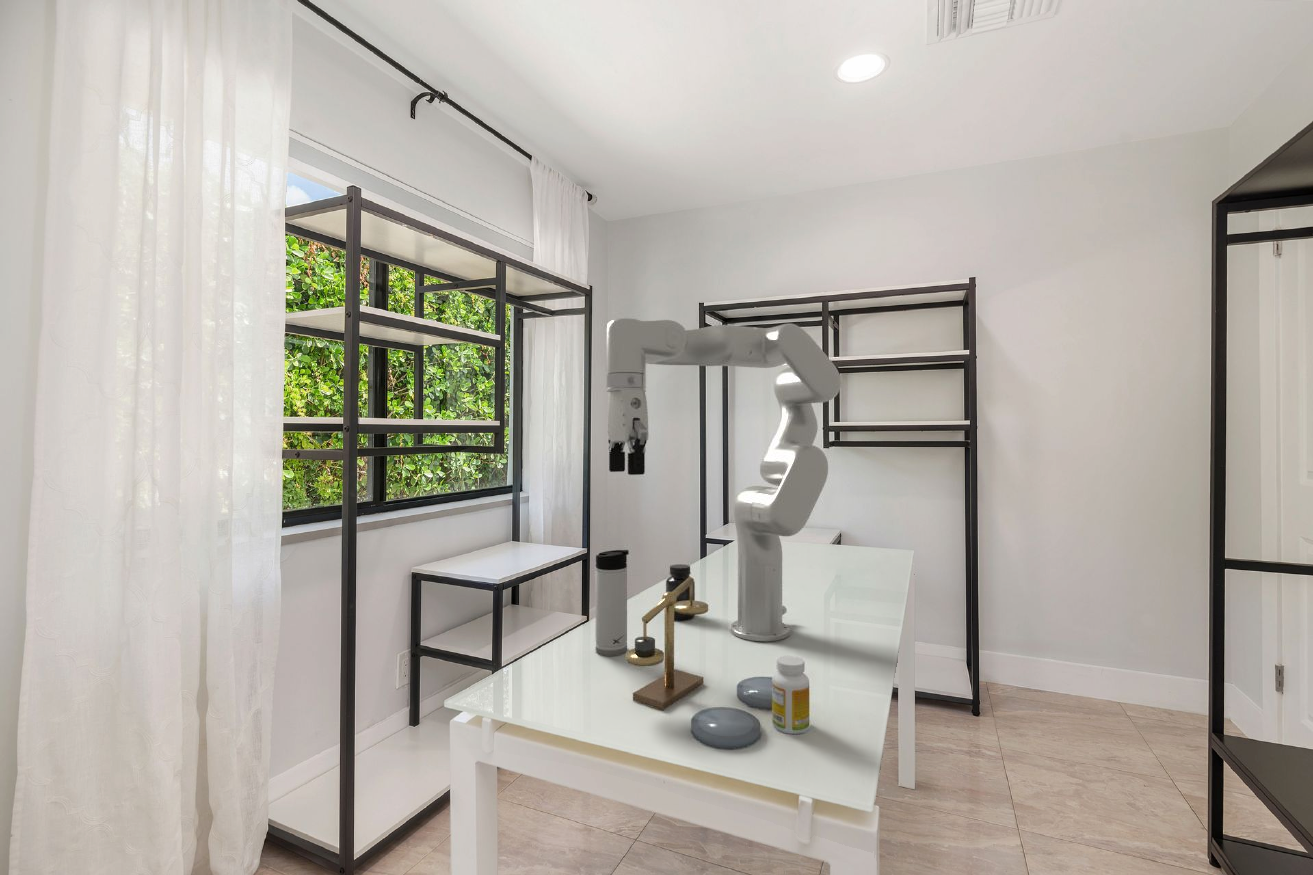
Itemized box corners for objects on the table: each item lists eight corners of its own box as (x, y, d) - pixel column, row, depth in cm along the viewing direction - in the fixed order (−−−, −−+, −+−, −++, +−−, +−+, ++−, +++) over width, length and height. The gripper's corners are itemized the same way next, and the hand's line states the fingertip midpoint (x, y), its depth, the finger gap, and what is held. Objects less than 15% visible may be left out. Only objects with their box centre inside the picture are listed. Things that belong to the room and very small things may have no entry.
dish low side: (713, 708, 93) (713, 700, 93) (772, 727, 87) (772, 718, 87) (677, 734, 85) (677, 726, 85) (740, 757, 79) (740, 747, 79)
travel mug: (624, 657, 114) (624, 553, 114) (591, 655, 115) (591, 552, 115) (632, 646, 120) (632, 547, 120) (600, 643, 122) (600, 546, 122)
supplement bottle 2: (811, 720, 89) (810, 655, 89) (807, 737, 84) (807, 669, 84) (774, 714, 91) (774, 651, 91) (769, 731, 86) (769, 664, 86)
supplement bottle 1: (700, 615, 141) (700, 565, 141) (685, 623, 135) (685, 570, 135) (675, 611, 144) (675, 561, 144) (660, 618, 139) (660, 567, 138)
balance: (686, 668, 109) (686, 571, 108) (714, 676, 105) (714, 575, 105) (618, 708, 93) (617, 594, 93) (648, 719, 89) (648, 600, 89)
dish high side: (753, 678, 104) (753, 671, 104) (808, 693, 98) (808, 685, 98) (725, 699, 96) (725, 691, 96) (783, 716, 90) (783, 708, 90)
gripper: (663, 381, 108) (663, 475, 108) (627, 388, 124) (627, 470, 124) (624, 379, 105) (624, 476, 105) (593, 387, 121) (593, 471, 121)
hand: (626, 472), depth 114 cm, fingers open, 9 cm apart
